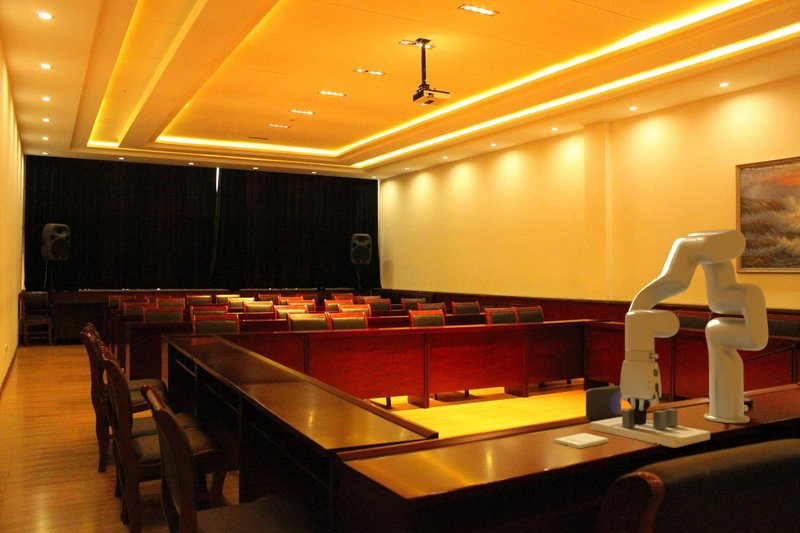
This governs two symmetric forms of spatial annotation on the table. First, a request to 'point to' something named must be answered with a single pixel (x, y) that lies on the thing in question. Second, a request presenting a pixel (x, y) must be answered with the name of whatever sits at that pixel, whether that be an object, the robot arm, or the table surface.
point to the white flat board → (652, 432)
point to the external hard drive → (581, 440)
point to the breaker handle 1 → (659, 419)
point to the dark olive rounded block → (603, 403)
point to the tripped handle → (627, 417)
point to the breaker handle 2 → (671, 417)
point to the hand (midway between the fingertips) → (639, 424)
